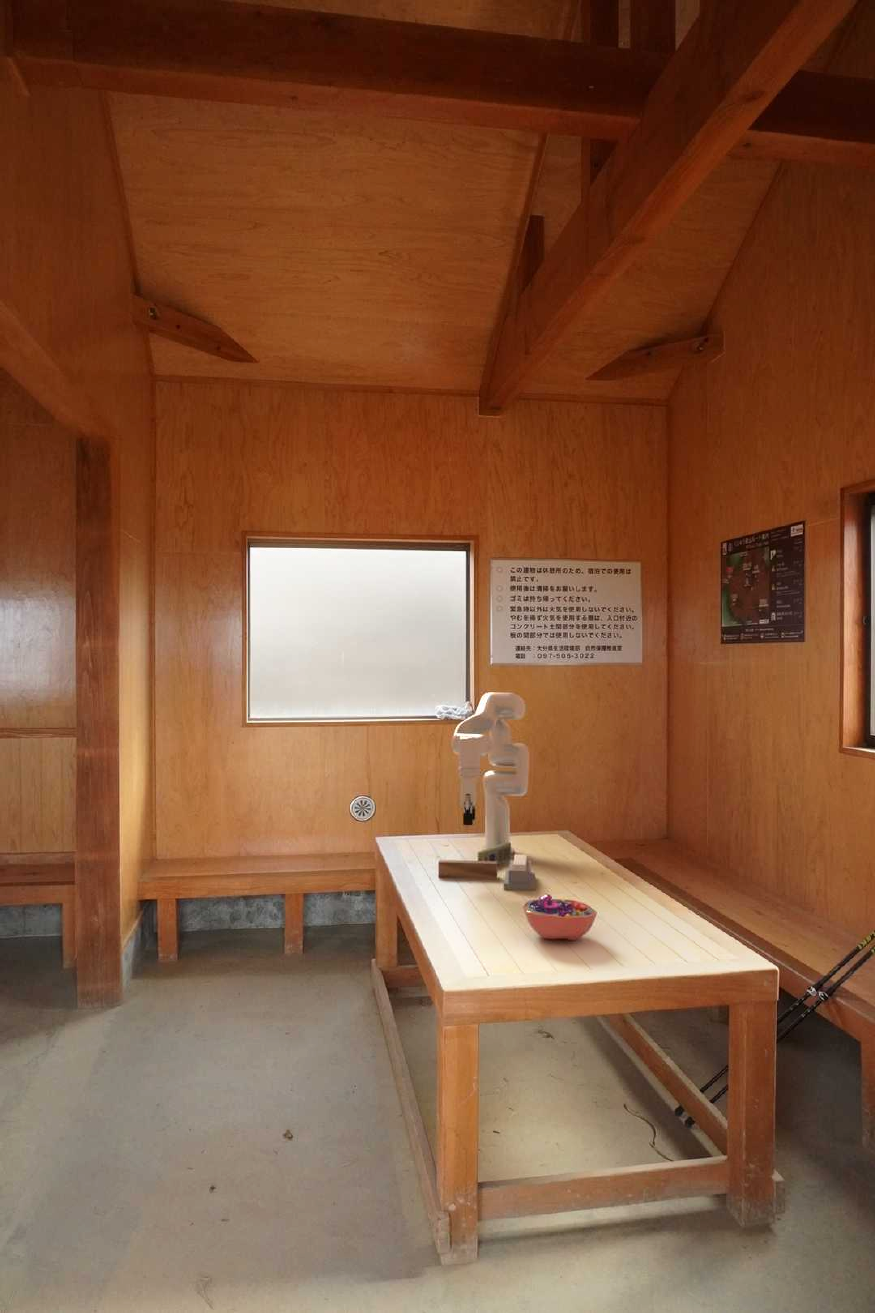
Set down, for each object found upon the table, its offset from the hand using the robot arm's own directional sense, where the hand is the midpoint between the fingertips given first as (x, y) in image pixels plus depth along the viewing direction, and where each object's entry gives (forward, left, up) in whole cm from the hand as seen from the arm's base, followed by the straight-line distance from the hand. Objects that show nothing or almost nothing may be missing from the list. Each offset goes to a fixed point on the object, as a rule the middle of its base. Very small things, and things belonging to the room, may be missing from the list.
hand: (469, 822), depth 284 cm
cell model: (+58, +30, -19) cm, 68 cm away
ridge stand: (+5, +18, -19) cm, 26 cm away
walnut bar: (-1, 0, -19) cm, 19 cm away
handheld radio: (-17, +6, -19) cm, 26 cm away
